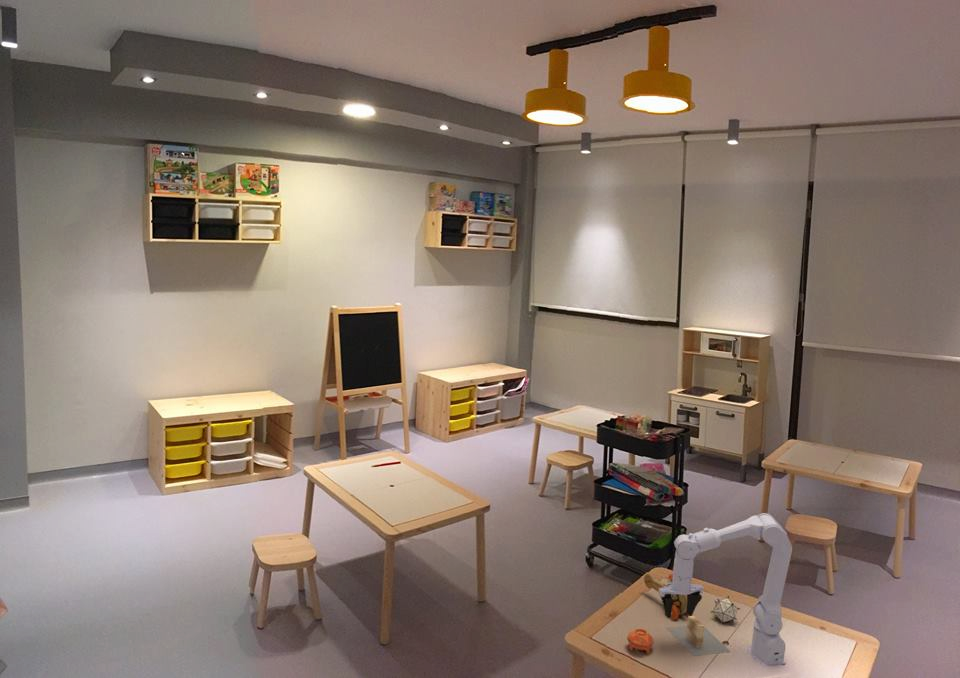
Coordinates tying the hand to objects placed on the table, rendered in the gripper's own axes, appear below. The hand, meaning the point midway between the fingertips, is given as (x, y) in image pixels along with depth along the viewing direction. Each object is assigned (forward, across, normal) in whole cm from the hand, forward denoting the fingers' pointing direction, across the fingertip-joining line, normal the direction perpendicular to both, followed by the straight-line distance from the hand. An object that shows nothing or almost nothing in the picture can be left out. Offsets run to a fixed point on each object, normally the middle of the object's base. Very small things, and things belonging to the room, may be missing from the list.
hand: (678, 615), depth 217 cm
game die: (+10, -24, -10) cm, 28 cm away
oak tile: (+10, -6, 0) cm, 12 cm away
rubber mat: (+10, -8, -1) cm, 13 cm away
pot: (+10, +12, 0) cm, 16 cm away
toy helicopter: (+10, -9, -21) cm, 25 cm away
